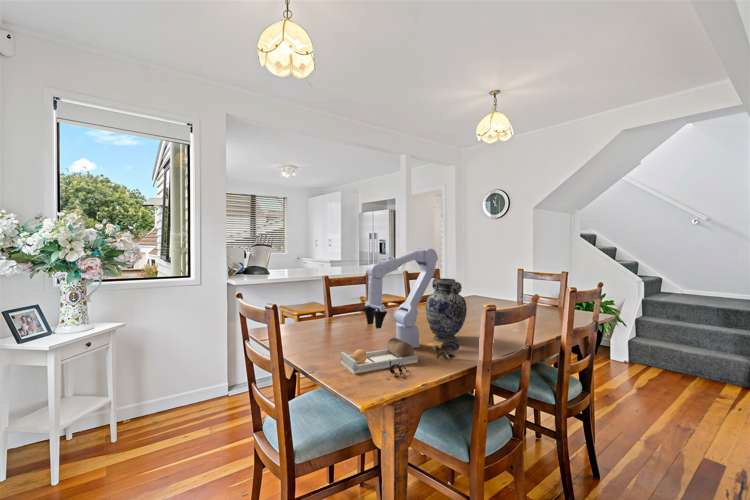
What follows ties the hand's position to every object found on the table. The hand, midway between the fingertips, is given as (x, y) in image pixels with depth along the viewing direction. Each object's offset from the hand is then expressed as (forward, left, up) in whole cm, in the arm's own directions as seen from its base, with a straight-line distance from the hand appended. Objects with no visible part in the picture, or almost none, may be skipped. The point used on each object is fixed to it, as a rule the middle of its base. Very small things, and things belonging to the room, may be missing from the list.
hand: (374, 326), depth 146 cm
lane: (+4, +13, -10) cm, 17 cm away
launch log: (-5, +13, -10) cm, 17 cm away
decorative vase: (-38, -1, -11) cm, 39 cm away
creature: (+4, +27, -11) cm, 30 cm away
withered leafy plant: (-21, +20, -11) cm, 31 cm away
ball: (+12, +13, -7) cm, 19 cm away
